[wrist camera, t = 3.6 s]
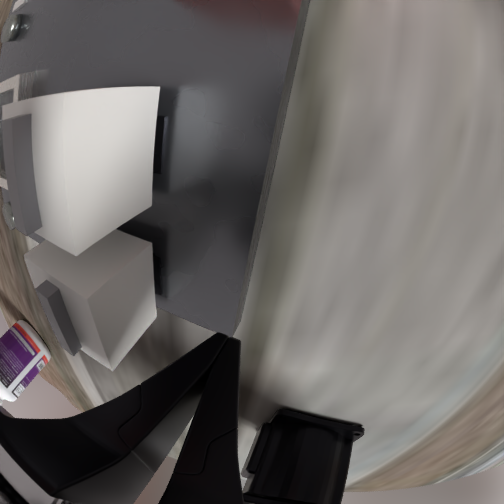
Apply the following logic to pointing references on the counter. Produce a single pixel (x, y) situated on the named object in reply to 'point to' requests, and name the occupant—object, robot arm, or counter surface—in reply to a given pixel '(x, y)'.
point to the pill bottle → (20, 359)
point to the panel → (177, 122)
